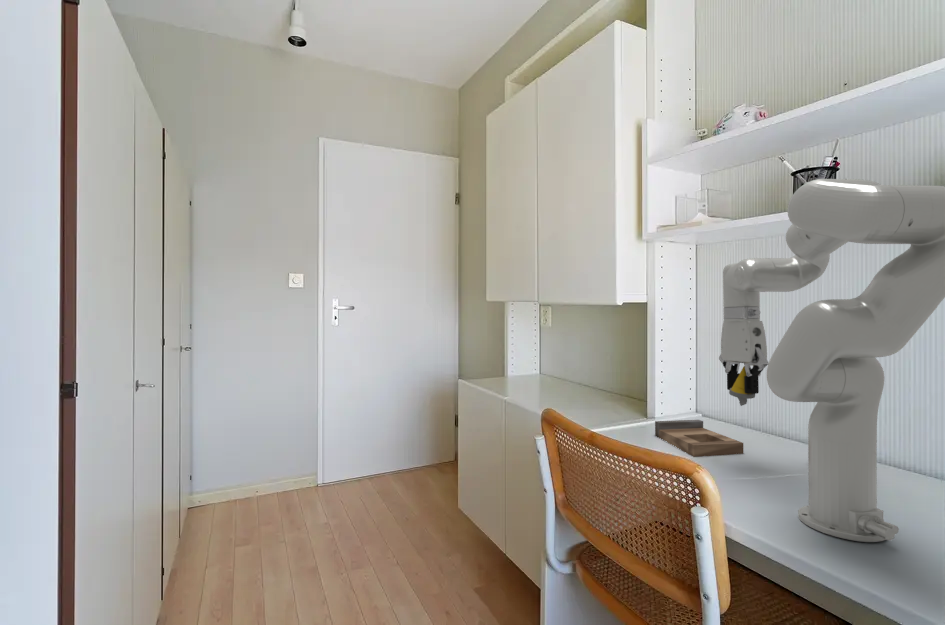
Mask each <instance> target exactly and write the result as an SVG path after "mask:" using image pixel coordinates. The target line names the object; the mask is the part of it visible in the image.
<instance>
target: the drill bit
mask: <svg viewBox="0 0 945 625" xmlns="http://www.w3.org/2000/svg"><path fill="white" fill-rule="evenodd" d="M739 373H740V374H739V376H738V378H737V380H736V381H735V383H734V385H733V387H732V388H730V389H729V390H728V393H729V395H730V396H732V397H735V398H737V399H738V401H739V406H740V407H742V406H745V405H747V403H748V400H749V399H750V400H751V399H755V397H756V394H746V393H745V389H744V376H747V375H746V370H745V366H744V365H743V367H742V369H741V370H740V372H739Z"/></svg>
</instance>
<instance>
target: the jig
mask: <svg viewBox="0 0 945 625" xmlns="http://www.w3.org/2000/svg"><path fill="white" fill-rule="evenodd" d="M656 436H657V438H658V437H659V438H658V439H660V438H661V439H660V440H662V439H663V440H662V441H664V440H665V441H667V442H668V443H667V442H666V443H667V444H669V443H670V445H671V444H672V445H671V446H673V445H674V446H673V447H675V446H676V447H677V448H676V447H675V448H676V449H678V448H679V449H678V450H680V449H681V450H680V451H682V452H683V453H685V452H686V454H687V453H688V454H687V455H690V456H691V457H693V458H698V457H714V456H715V457H716V456H731V455H743V454H744V442H743V441H740V440H736V439H733V438H731V437H728V436H726V435H723V434H721V433H718V432H716V431H712V430H709V429H707V428H704V420H701V419H684V420H683V419H681V420H678V419H677V420H676V419H675V420H655V421H654V437H656ZM665 441H664V442H665Z"/></svg>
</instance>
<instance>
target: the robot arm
mask: <svg viewBox="0 0 945 625" xmlns="http://www.w3.org/2000/svg"><path fill="white" fill-rule="evenodd" d="M787 205H788V206H787V217H788V219H789V221H790V222H791V225H789V227H788V229H787V230H786V233H785V241H786V245H787V247H788V248H789V249H790V251H791V252H792V253H793V254H794V256H792V257H787V258H786V257H753V258H752V257H751V258H750V257H749V258H744V259H743V260H740V261H739V262H734V263H730V264H727V265H725V266H724V267H723V268H722V269H723V271H722V289H723V290H722V291H723V292H722V294H723V295H722V296H723V300H722V304H723V305H722V306H723V310H722V312H723V322H722V325H721V326H722V328H721V335H720V336H721V337H720V338H721V339H720V355H718V360H719V361H720V363H721V365H723V368H724V372H725V373H726V388H727V390H728V391H729V389H730V388H732V387H733V385H734V383H735V381H736V380H737V378H738V376H739V374H740V372H739V371H740V365H741V364H744V365H743V367H744V366H745V370H746V375H747V376H744V389H745V393H746V394H755V395H756V394H759V391H760V390H759V388H760V387H759V384H760V382H759V377H761V375H762V374H761V373H762V372H763V371H764V369H765V368H766V381H767V385H768V387H769V389H770V390H771V391H772V393H773V394H774V395H775V396H776V397H778V398H780V399H782V400H783V401H788V402H792V403H793V402H794V403H795V402H796V403H816V404H815V405H814V407H813V409H812V411H811V414H810V416H809V419H808V424H807V425H808V428H807V434H808V435H807V436H808V437H807V442H808V443H807V447H808V449H807V450H808V451H807V452H808V453H807V456H808V460H807V461H808V465H807V466H808V468H807V469H808V472H807V473H808V475H807V476H808V480H807V481H808V505H804V506H802V507H799V509H798V510H797V511H798V512H797V517H798V518H799V520H800V521H801V523H803V524H804V525H806V526H808V527H810V528H812V529H813V530H815V531H818V532H820V533H823V534H826V535H828V536H832V537H836V538H839V539H844V540H849V541H855V542H861V543H879V542H884V541H892V540H894V539H895V537H896V535H897V534H898V533H899V530H900V528H899V526H898V525H895V524H893V523H891V522H888V521H885V519H884V510H882V509H879V508H878V484H877V483H878V482H877V481H878V478H877V476H878V471H877V470H878V467H877V466H878V463H877V462H878V457H877V456H878V451H877V450H878V449H877V447H878V446H877V442H878V434H877V433H878V415H879V414H878V412H879V406H880V403H881V398H882V394H883V390H884V386H885V373H884V372H885V371H884V367H883V366H882V364H881V363H880V361H879V360H878V359H877V358H884V357H890V356H892V355H894V354H897V353H898V352H900V351H901V350H902V349H903V348H904V347H905V346H906V345H907V344H908V343H909V342H910V340H911V339H912V338H913V337H914V335H916V333H917V332H918V331H919V330H920V328H921V327H922V326H923V325H924V324H925V323H926V321H928V319H929V318H930V317H931V315H932V314H933V313H934V312H935V310H936V309H937V308H938V306H939V305H940V304H941V303H942V302H943V301H944V299H945V185H944V186H943V185H922V184H921V185H918V184H917V185H915V184H913V185H910V184H909V185H903V184H902V185H899V184H895V185H893V184H891V185H887V184H881V183H878V182H876V181H874V180H870V179H869V180H868V179H860V178H859V179H857V178H856V179H854V178H853V179H852V178H817V179H813V180H810V181H807V182H806V183H804V184H803V185H801V186H800V187H799V188H797V189H796V190H795V191H794V192H793V193H792V196H791V197H790V200H789V202H788V204H787ZM849 242H850V243H854V244H855V243H856V244H862V245H863V244H864V245H910V247H909V248H908V249H906V250H905V251H904V252H902V253H901V254H899V255H897V256H896V257H894V258H893V259H891V260H890V261H888V262H887V263H886V264H885V265H884V266H883V267H882V268H880V269H879V270H878V271H877V273H876V274H874V277H873V278H872V280H871V281H870V283H869V284H868V286H867V287H866V288H865V289H864V291H863V292H861V293H860V294H859V295H858V296H855V297H853V298H848V299H847V298H846V299H842V298H841V299H838V298H837V299H822V300H817V301H814V302H812V303H809V304H808V305H806V306H805V307H803V308H802V309H801V310H800V311H799V312H798V313H797V314H796V316H795V317H794V319H793V320H792V322H791V323H790V324H789V326H788V328H787V329H786V331H785V333H784V335H783V336H782V338H781V339H780V341H779V343H778V344H777V346H776V347H775V350H774V351H773V352H772V355H771V356H770V359H769V361H768V348H767V347H768V346H767V338H766V337H767V336H766V330H765V326H764V323H763V320H761V310H760V307H761V304H760V293H766V292H768V293H769V292H770V293H774V292H775V293H777V292H778V293H789V292H790V293H791V292H795V291H797V290H798V291H799V290H801V289H802V288H804V287H806V286H808V285H810V284H811V283H813V282H815V281H817V280H818V279H819V278H821V277H822V275H823V274H824V273H825V271H826V270H827V269H828V265H829V262H830V258H831V257H830V256H831V254H833V253H834V252H835V251H837V250H838V249H839V248H841V247H843V246H844V245H846V244H847V243H849ZM751 367H752V368H751Z"/></svg>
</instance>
